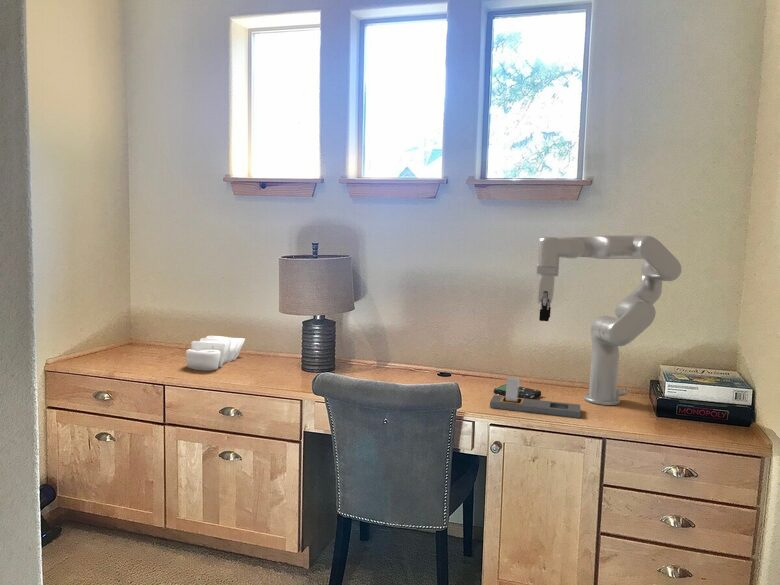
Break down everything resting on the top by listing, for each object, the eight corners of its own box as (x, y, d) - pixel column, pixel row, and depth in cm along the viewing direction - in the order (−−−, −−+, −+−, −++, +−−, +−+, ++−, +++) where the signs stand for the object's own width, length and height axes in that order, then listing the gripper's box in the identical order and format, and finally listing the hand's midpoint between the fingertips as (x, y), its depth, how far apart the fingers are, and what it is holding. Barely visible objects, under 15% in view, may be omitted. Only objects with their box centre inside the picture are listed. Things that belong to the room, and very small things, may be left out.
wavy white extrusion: (215, 354, 286) (215, 332, 285) (248, 357, 283) (249, 334, 282) (176, 370, 252) (176, 345, 251) (214, 373, 249) (214, 348, 248)
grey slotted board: (580, 410, 214) (580, 404, 214) (580, 418, 205) (580, 411, 205) (493, 400, 223) (494, 394, 223) (489, 407, 214) (490, 401, 213)
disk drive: (541, 398, 231) (506, 390, 241) (541, 390, 231) (506, 383, 240) (528, 403, 223) (492, 395, 233) (529, 395, 223) (493, 387, 233)
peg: (518, 405, 217) (519, 377, 216) (516, 408, 214) (518, 380, 213) (506, 404, 219) (508, 376, 218) (505, 407, 215) (506, 379, 214)
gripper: (538, 270, 228) (535, 315, 230) (535, 272, 212) (532, 321, 214) (559, 271, 226) (556, 317, 228) (557, 273, 210) (554, 323, 211)
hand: (544, 319), depth 221 cm, fingers open, 9 cm apart
